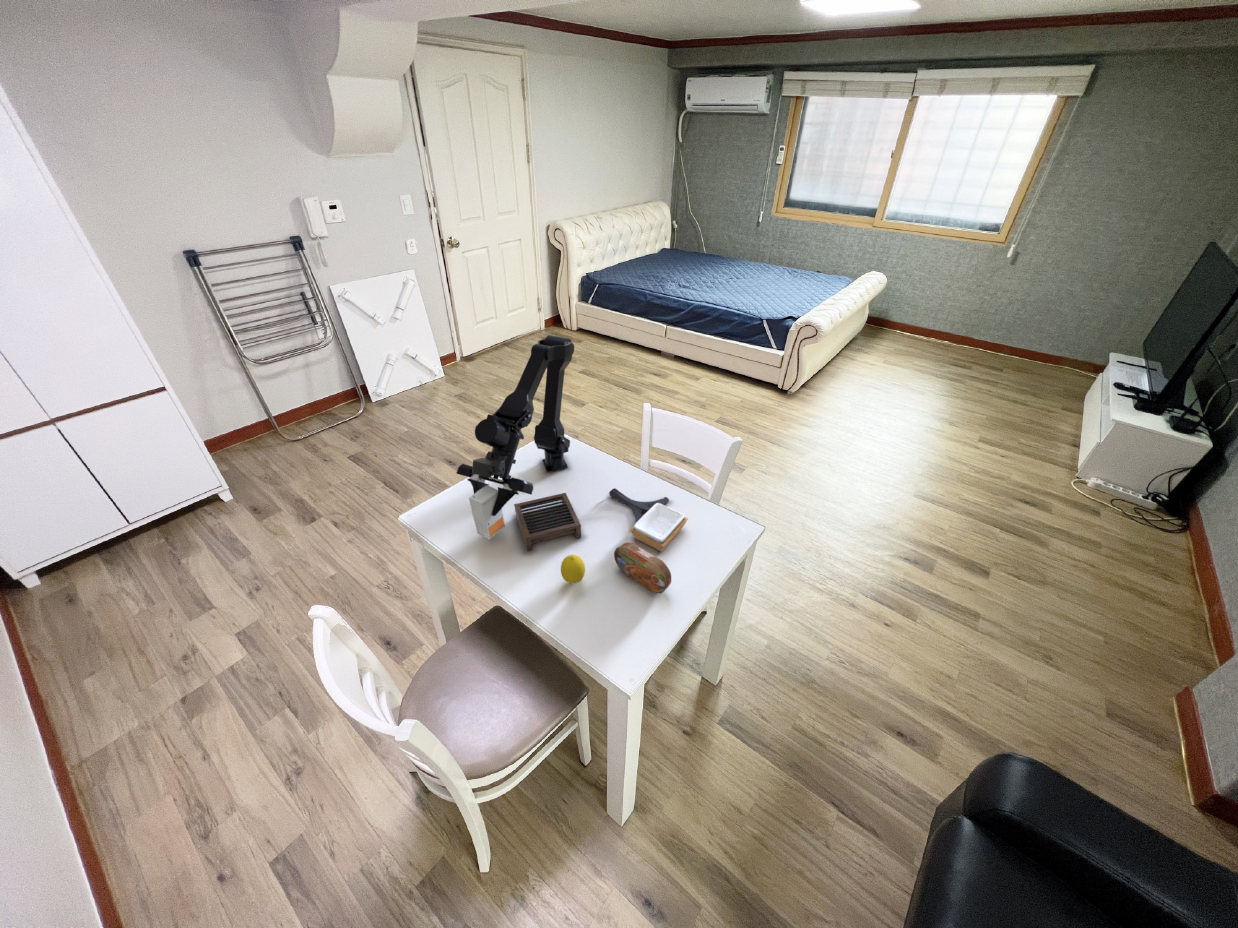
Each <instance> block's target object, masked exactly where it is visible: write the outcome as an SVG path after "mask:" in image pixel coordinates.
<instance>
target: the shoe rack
mask: <svg viewBox="0 0 1238 928" xmlns="http://www.w3.org/2000/svg"><path fill="white" fill-rule="evenodd" d="M513 507H514V512H515V513H514V514H515V518H516V523H517V524H518V528H519V530H520V534H521V537H522V540H523V543H524V546H525V549H526V552H530V551H532V550H533V549H532V548H533V547H532V544H536V543H541V542H544V541H548V540H552V539H556V538H560V537H564V536H569V535H571V534H574V535H575V538H576V539H580V538H582V524H581V522H580V520H579V518H578V516H577V514H576V511H575V510H574V507H573V505H572V503H571V501H570V499H569V496H568V494H567V492H562V493H558V494H553V495H550V496H545V497H541V498H536V499H531V500H527V501H524V502H519V503H514V506H513Z"/></svg>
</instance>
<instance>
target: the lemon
mask: <svg viewBox="0 0 1238 928" xmlns="http://www.w3.org/2000/svg"><path fill="white" fill-rule="evenodd" d="M560 574H561V577H562V579H563V580H564V581H565V582H566V583H568V584H572V585H573V584H577V583H579V582H581V581H582V580H583V578H584V577H585V574H586V565H585V562H584V560H583V559H582V557H581V556H579V555H577V554H568V555H567V556H565V557H564V558H563V560H562V562H561V563H560Z"/></svg>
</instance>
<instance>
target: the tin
mask: <svg viewBox="0 0 1238 928" xmlns="http://www.w3.org/2000/svg"><path fill="white" fill-rule="evenodd" d="M613 553H614V554H613V557H614V561H615V564H616V567H618V569H619V570H620V571H621V572H622V574H623V575H625V576H627V577H628V578H630V579H631V580H633V581H634V582H636V583H637V584H639V585H640V586H642V587H643V588H645V589H647V590H648V591H650V592H651V593H654V594H657V595H658V594H662V593H664V592H665V591H666V590H667V589H668V588H669V586H670V585H671V584H672V573H671V570H670V568H669V567H668V565H667V564H666V563H665V562H664V561H663V560H662V559H660V558H659V557H658V556H655V555H654V554H653V553H650V552H649V551H647V550H646V549H644V548H642V547H640V546H639V545H637V544H636V543H634V542H629V541H628V542H624V543H622V544H621V545H619V546H618V547H616V548H615V550H614V552H613Z"/></svg>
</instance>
